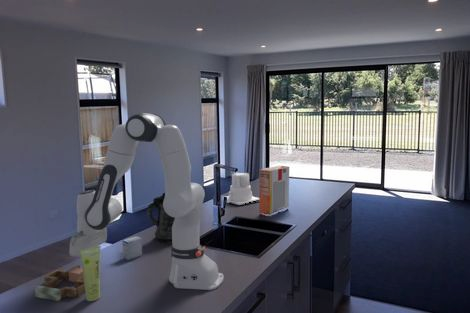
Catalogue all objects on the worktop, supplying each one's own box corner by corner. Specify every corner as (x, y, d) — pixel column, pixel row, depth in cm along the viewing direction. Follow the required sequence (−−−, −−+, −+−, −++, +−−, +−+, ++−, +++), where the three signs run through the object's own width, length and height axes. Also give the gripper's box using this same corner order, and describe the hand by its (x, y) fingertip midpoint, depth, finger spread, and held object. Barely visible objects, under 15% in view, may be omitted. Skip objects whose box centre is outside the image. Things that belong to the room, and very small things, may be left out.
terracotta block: (87, 278, 161) (87, 268, 161) (79, 283, 156) (78, 273, 156) (77, 276, 163) (77, 267, 162) (69, 281, 158) (68, 272, 157)
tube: (95, 303, 140) (92, 251, 138) (82, 301, 141) (79, 250, 138) (102, 295, 146) (100, 245, 143) (90, 294, 146) (87, 244, 144)
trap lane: (108, 276, 162) (108, 267, 162) (69, 303, 140) (69, 292, 140) (68, 270, 168) (67, 261, 168) (24, 294, 146) (23, 284, 146)
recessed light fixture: (243, 196, 307) (243, 169, 305) (262, 201, 291) (263, 173, 288) (218, 201, 291) (218, 173, 289) (237, 207, 275) (237, 177, 272)
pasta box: (278, 207, 273) (279, 165, 269) (288, 209, 267) (289, 166, 264) (259, 214, 255) (259, 169, 251) (269, 217, 250) (270, 171, 246)
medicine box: (136, 253, 188) (136, 235, 187) (142, 255, 185) (142, 237, 184) (122, 258, 182) (122, 240, 181) (128, 260, 179) (127, 242, 178)
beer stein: (192, 237, 211) (191, 192, 208) (167, 247, 195) (166, 199, 192) (170, 231, 220) (169, 188, 217) (144, 241, 204) (142, 195, 201)
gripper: (77, 236, 154) (79, 269, 156) (109, 222, 173) (110, 251, 175) (64, 234, 156) (66, 267, 158) (97, 220, 175) (98, 250, 177)
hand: (89, 259), depth 167 cm, fingers closed
